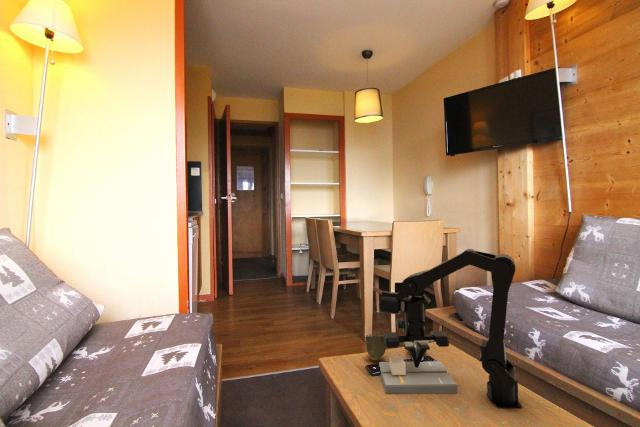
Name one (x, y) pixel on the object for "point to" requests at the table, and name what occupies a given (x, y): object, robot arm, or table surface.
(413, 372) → the console board
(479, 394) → the table surface
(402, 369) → the fader cap
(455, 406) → the table surface
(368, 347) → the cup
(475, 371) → the table surface
